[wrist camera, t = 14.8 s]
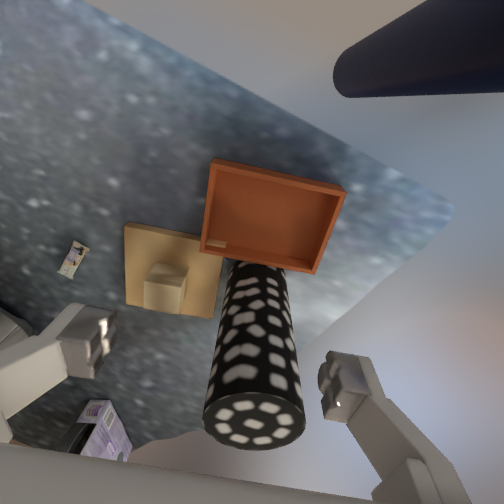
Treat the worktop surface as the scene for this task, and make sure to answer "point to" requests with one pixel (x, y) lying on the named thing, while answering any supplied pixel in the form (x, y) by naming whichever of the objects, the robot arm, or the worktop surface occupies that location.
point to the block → (165, 288)
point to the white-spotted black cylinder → (255, 364)
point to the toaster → (12, 329)
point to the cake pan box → (97, 433)
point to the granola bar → (73, 259)
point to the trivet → (176, 253)
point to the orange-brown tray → (269, 216)
